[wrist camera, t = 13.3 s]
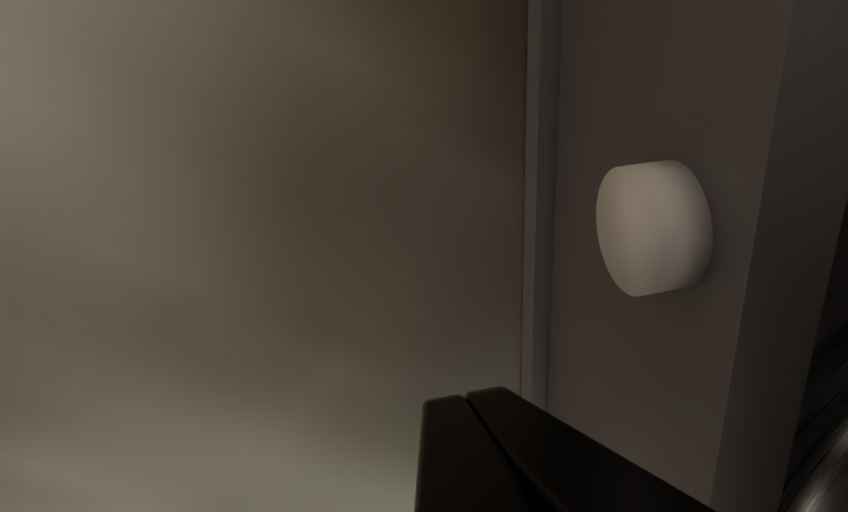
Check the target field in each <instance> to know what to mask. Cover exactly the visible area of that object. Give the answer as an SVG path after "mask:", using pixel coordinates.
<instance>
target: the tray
mask: <svg viewBox="0 0 848 512" xmlns="http://www.w3.org/2000/svg"><path fill="white" fill-rule="evenodd" d="M847 323H848V0H562V25H561V52H560V79H559V106H558V133H557V160H556V187H555V214H554V241H553V268H552V295H551V322H550V349H549V376H548V403H547V412H548V413H550V414H551V415H553V416H555V417H556V418H558V419H560V420H562V421H563V422H565V423H567V424H568V425H570V426H572V427H573V428H575V429H577V430H579V431H580V432H582V433H584V434H585V435H587V436H589V437H591V438H592V439H594V440H596V441H597V442H599V443H601V444H602V445H604V446H606V447H608V448H609V449H611V450H613V451H614V452H616V453H618V454H620V455H621V456H623V457H625V458H626V459H628V460H630V461H632V462H633V463H635V464H637V465H638V466H640V467H642V468H643V469H645V470H647V471H649V472H650V473H652V474H654V475H655V476H657V477H659V478H661V479H662V480H664V481H666V482H667V483H669V484H671V485H673V486H674V487H676V488H678V489H679V490H681V491H683V492H684V493H686V494H688V495H690V496H691V497H693V498H695V499H696V500H698V501H700V502H702V503H703V504H705V505H707V506H708V507H710V508H712V509H713V510H715V511H717V512H778V508H779V503H780V499H781V494H782V490H783V485H784V481H785V476H786V472H787V467H788V463H789V458H790V454H791V449H792V445H793V440H794V436H795V431H796V427H797V422H798V418H799V413H800V409H801V404H802V400H803V395H804V391H805V386H806V382H807V377H808V373H809V368H810V364H811V359H812V355H813V350H814V348H815V347H816V346H818V345H819V344H820V343H821V342H822V341H823V340H825V339H826V338H828V337H829V336H830V335H832V334H833V333H834V332H836V331H837V330H839V329H840V328H841V327H843V326H844V325H845V324H847Z"/></svg>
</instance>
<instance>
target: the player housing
mask: <svg viewBox="0 0 848 512" xmlns="http://www.w3.org/2000/svg"><path fill="white" fill-rule="evenodd" d="M561 25H562V0H528V39H527V96H526V152H525V209H524V265H523V322H522V378H521V397H522V398H524V399H526V400H527V401H529V402H531V403H532V404H534V405H536V406H538V407H539V408H541V409H543V410H544V411H546V412H547V403H548V376H549V349H550V322H551V295H552V268H553V241H554V214H555V187H556V160H557V133H558V106H559V79H560V52H561Z"/></svg>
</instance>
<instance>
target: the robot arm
mask: <svg viewBox="0 0 848 512" xmlns="http://www.w3.org/2000/svg"><path fill="white" fill-rule="evenodd" d="M414 512H717V511H715V510H713V509H712V508H710V507H708V506H707V505H705V504H703V503H702V502H700V501H698V500H696V499H695V498H693V497H691V496H690V495H688V494H686V493H684V492H683V491H681V490H679V489H678V488H676V487H674V486H673V485H671V484H669V483H667V482H666V481H664V480H662V479H661V478H659V477H657V476H655V475H654V474H652V473H650V472H649V471H647V470H645V469H643V468H642V467H640V466H638V465H637V464H635V463H633V462H632V461H630V460H628V459H626V458H625V457H623V456H621V455H620V454H618V453H616V452H614V451H613V450H611V449H609V448H608V447H606V446H604V445H602V444H601V443H599V442H597V441H596V440H594V439H592V438H591V437H589V436H587V435H585V434H584V433H582V432H580V431H579V430H577V429H575V428H573V427H572V426H570V425H568V424H567V423H565V422H563V421H562V420H560V419H558V418H556V417H555V416H553V415H551V414H550V413H548V412H546V411H544V410H543V409H541V408H539V407H538V406H536V405H534V404H532V403H531V402H529V401H527V400H526V399H524V398H522V397H521V396H519V395H517V394H515V393H514V392H512V391H510V390H509V389H507V388H504V387H492V388H487V389H482V390H476V391H471V392H468V393H467V394H466V395H465V396H464V397H463V396H461V395H450V396H445V397H440V398H434V399H429V400H426V401H425V402H424V404H423V407H422V418H421V431H420V443H419V456H418V469H417V481H416V494H415V506H414Z"/></svg>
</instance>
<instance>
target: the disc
mask: <svg viewBox="0 0 848 512" xmlns="http://www.w3.org/2000/svg"><path fill="white" fill-rule="evenodd" d="M778 512H848V323H847V324H845V325H844V326H843V327H841V328H840V329H839V330H837V331H836V332H834V333H833V334H832V335H830V336H829V337H828V338H826V339H825V340H823V341H822V342H821V343H820V344H819V345H818V346H816V347H815V348H814V350H813V355H812V359H811V364H810V368H809V373H808V377H807V382H806V386H805V391H804V395H803V400H802V404H801V409H800V413H799V418H798V422H797V427H796V431H795V436H794V440H793V445H792V449H791V454H790V458H789V463H788V467H787V472H786V476H785V481H784V485H783V490H782V494H781V499H780V503H779V508H778Z"/></svg>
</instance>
